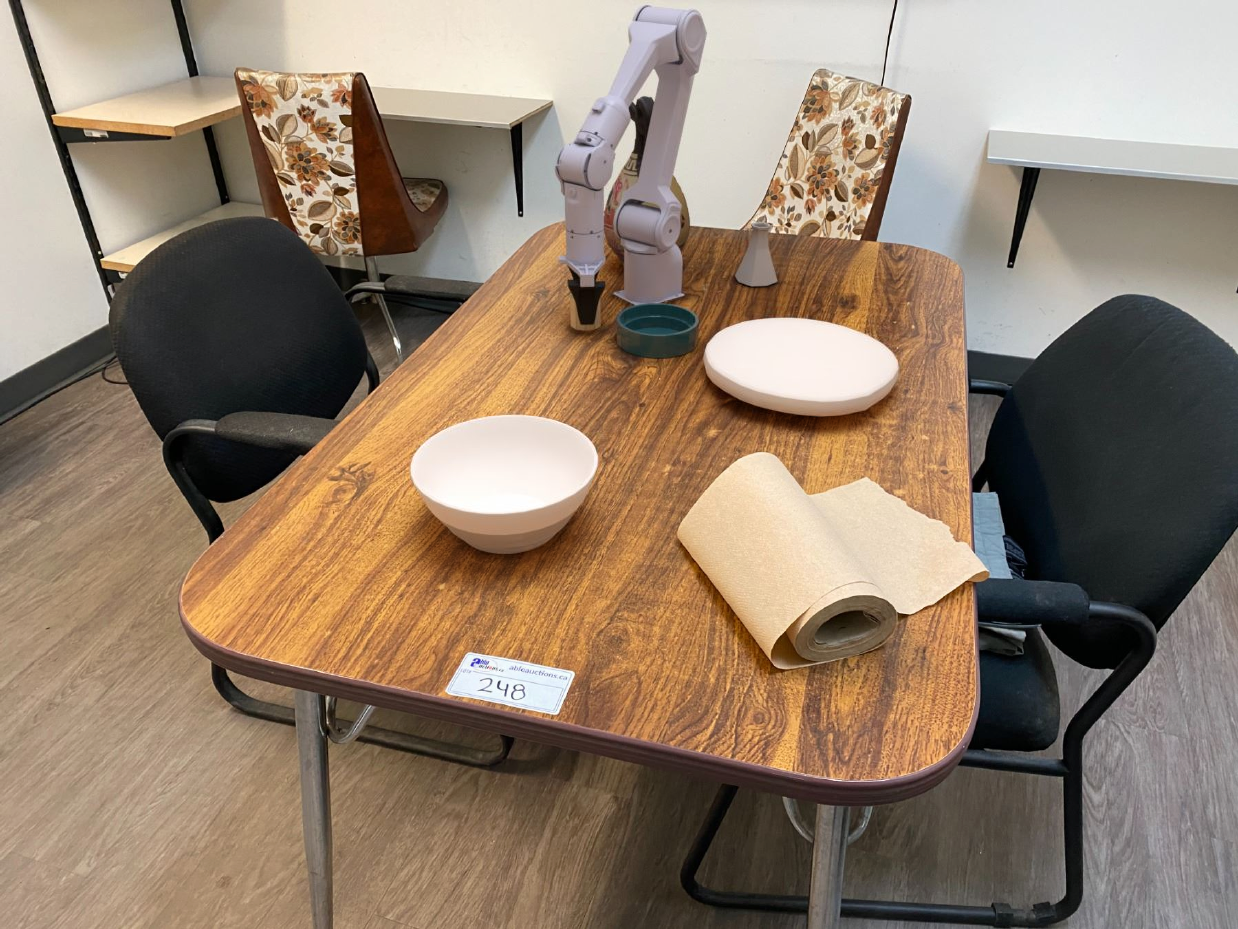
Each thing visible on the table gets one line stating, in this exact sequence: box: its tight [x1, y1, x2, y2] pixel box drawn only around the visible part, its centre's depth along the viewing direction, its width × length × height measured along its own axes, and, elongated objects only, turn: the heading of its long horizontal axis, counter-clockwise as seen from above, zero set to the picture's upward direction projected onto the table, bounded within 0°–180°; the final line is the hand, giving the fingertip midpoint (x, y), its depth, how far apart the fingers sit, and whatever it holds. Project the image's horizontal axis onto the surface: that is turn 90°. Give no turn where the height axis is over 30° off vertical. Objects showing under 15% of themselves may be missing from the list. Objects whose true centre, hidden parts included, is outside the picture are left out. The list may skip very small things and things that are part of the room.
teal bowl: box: [616, 302, 700, 359], centre depth 137 cm, size 12×12×4 cm
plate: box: [702, 317, 900, 417], centre depth 127 cm, size 28×6×27 cm
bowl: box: [409, 414, 599, 555], centre depth 97 cm, size 19×20×8 cm
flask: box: [734, 221, 778, 287], centre depth 159 cm, size 7×7×10 cm
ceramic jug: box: [604, 95, 691, 266], centre depth 158 cm, size 17×15×30 cm
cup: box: [569, 292, 602, 332], centre depth 142 cm, size 5×5×5 cm
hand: (586, 313), depth 143 cm, fingers open, 7 cm apart
